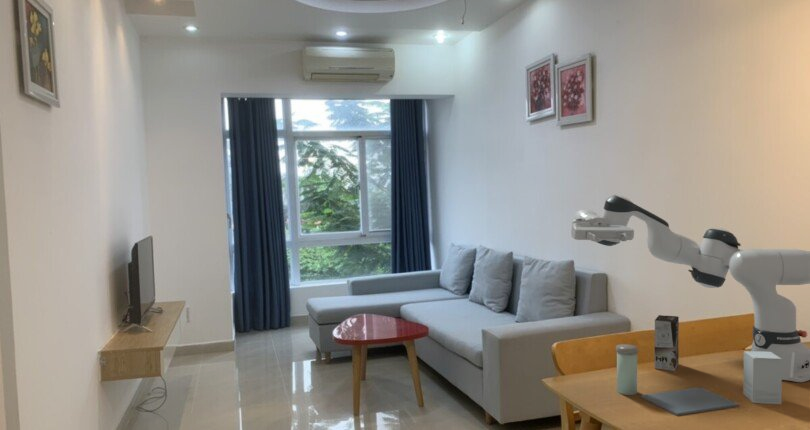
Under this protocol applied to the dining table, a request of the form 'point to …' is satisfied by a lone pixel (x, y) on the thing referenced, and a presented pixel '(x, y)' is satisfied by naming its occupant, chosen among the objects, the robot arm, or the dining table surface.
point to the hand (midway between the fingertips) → (610, 238)
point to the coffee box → (667, 342)
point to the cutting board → (689, 401)
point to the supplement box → (762, 377)
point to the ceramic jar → (627, 369)
